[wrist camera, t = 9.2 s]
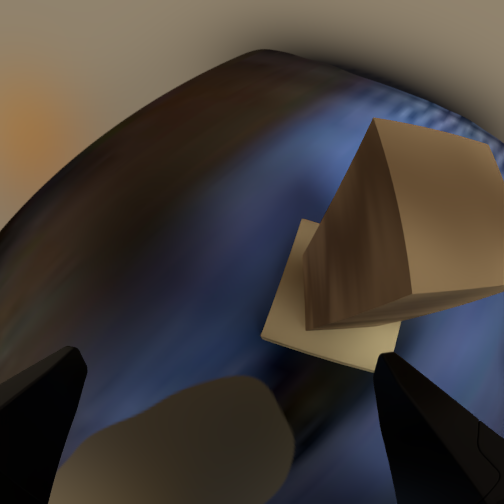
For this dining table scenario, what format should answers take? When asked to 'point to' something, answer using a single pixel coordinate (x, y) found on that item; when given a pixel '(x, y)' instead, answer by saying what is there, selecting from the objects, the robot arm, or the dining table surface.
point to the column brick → (407, 231)
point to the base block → (320, 341)
